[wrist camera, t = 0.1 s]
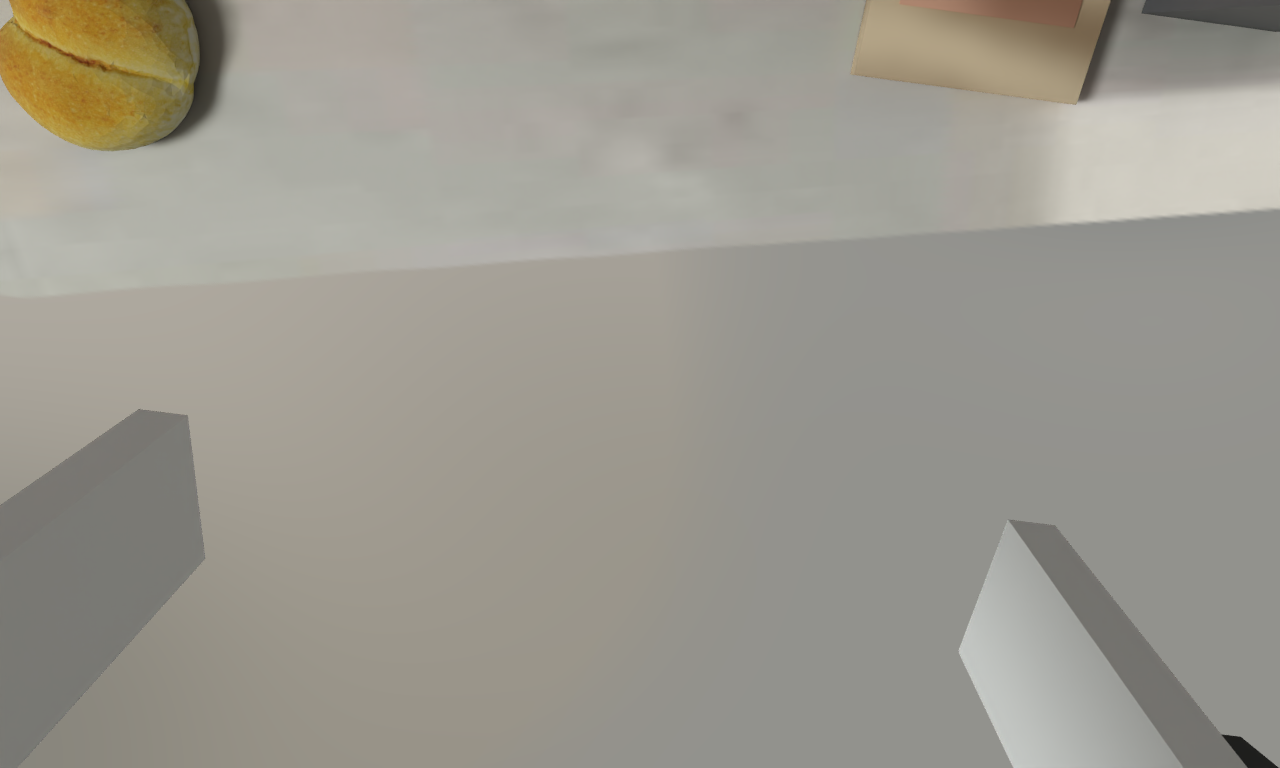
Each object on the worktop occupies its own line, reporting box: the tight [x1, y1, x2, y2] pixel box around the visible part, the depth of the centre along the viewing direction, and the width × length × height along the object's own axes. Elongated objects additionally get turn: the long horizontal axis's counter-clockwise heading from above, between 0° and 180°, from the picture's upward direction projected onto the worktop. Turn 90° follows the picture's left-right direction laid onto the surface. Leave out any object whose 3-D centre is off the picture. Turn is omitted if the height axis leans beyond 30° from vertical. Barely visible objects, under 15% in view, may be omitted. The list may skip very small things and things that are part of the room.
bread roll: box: [0, 0, 200, 151], centre depth 35 cm, size 8×9×4 cm
